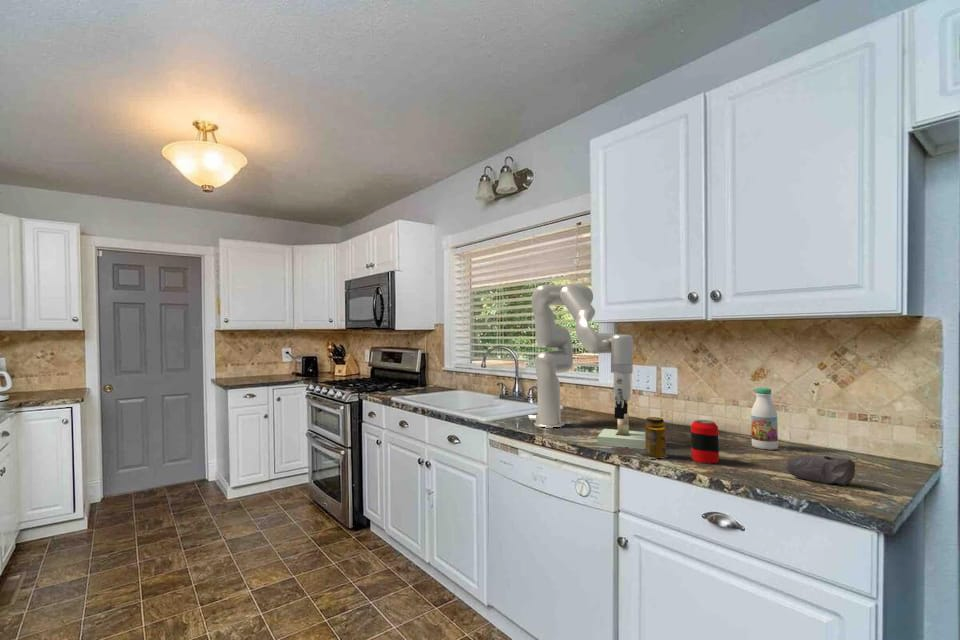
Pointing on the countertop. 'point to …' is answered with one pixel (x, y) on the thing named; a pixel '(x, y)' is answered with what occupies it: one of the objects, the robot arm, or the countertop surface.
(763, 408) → the milk bottle
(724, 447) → the countertop surface
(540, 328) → the robot arm
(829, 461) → the perforated stone tool
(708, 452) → the soda can
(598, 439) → the board
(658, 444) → the condiment
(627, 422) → the peg
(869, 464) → the countertop surface
